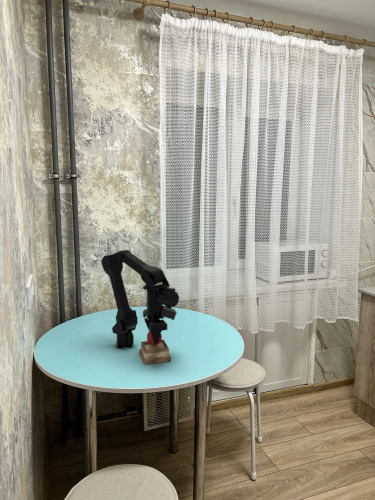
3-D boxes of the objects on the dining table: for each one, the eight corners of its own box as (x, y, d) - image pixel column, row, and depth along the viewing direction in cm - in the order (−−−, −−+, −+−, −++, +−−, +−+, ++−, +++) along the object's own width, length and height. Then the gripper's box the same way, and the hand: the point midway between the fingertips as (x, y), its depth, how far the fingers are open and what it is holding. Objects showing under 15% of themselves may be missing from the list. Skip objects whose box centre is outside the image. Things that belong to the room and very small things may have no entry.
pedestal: (143, 364, 140) (143, 351, 140) (139, 353, 150) (139, 341, 150) (170, 361, 143) (170, 348, 143) (164, 350, 153) (164, 338, 152)
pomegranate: (154, 342, 150) (154, 323, 149) (164, 346, 147) (164, 326, 145) (143, 346, 146) (143, 327, 145) (154, 350, 142) (154, 330, 141)
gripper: (181, 307, 137) (180, 347, 139) (169, 293, 155) (168, 330, 157) (151, 309, 134) (151, 350, 136) (142, 295, 151) (142, 332, 154)
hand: (154, 340), depth 146 cm, fingers open, 6 cm apart
